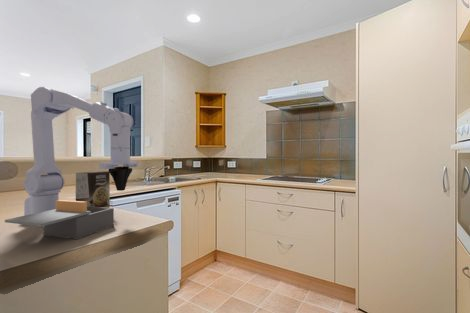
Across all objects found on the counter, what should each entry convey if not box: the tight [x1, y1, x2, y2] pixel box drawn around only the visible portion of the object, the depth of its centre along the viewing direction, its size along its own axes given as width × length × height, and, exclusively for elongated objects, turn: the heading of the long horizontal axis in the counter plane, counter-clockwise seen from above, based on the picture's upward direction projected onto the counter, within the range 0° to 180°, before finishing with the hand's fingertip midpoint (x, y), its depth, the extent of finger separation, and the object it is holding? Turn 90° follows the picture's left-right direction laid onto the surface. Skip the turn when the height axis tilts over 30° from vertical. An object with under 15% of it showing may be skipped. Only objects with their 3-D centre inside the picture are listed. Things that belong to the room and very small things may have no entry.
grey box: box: [43, 206, 115, 240], centre depth 67 cm, size 12×12×6 cm
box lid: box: [4, 199, 91, 228], centre depth 59 cm, size 12×12×3 cm
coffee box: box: [75, 170, 111, 208], centre depth 82 cm, size 9×6×16 cm
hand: (120, 190), depth 75 cm, fingers closed
